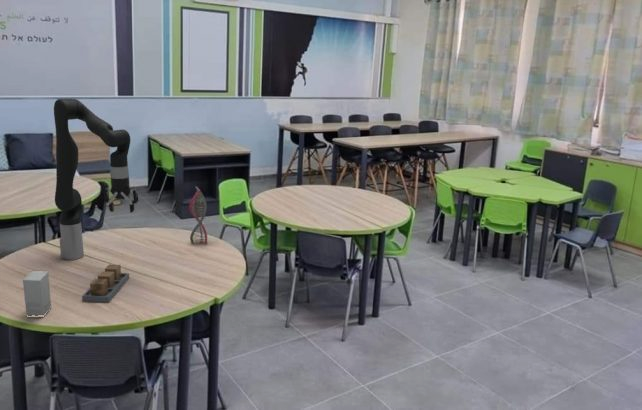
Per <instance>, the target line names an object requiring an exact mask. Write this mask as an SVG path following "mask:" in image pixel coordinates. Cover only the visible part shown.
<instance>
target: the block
mask: <svg viewBox="0 0 642 410" xmlns="http://www.w3.org/2000/svg"><path fill="white" fill-rule="evenodd" d="M89 286H90V287H89V288H90V290H91V296H106V295H107V294H108V282H107V279H98V278H94V279H93V280H92V281H91V282H90V283H89Z"/></svg>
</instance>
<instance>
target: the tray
mask: <svg viewBox="0 0 642 410" xmlns="http://www.w3.org/2000/svg"><path fill="white" fill-rule="evenodd" d="M121 268H122V267H121V264H111V263H110V264H108V265H107V266H106V267H105V268H104V271H101V272H100V273H99V274H98V275H97V279H107V282H108V294H107V295H106V296H91V290H90V287H89V288H88V289H87V290H86V291H85V292H84V293H83V294H82V296H81V299H82V300H81V301H91V302H90V303H110V302H111V301H112V299H114V298H115V296H116V295H117V294H118V293H119V291H120V290H121V289H122V287H123V286H125V284H126V283H127V282H128V280H130V274H129V273H130V272H129V273H127V272H122V269H121Z"/></svg>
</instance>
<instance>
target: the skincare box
mask: <svg viewBox="0 0 642 410" xmlns="http://www.w3.org/2000/svg"><path fill="white" fill-rule="evenodd" d="M49 278H50V277H49V271H45V270H44V271H43V270H42V271H40V270H38V271H37V270H34V271H33V270H32V271H30V272H29V273H28V274H27V275H26V277H24V278H23V279H22V284H23V293H24V295H23V296H24V303H25V313H26V314H25V315H26V316H27V315H28V316H32V315H35V316H38V315H44V314H45V313H46V312H47V311H48V310H49V309H50V307H51V308H52V301H51V290H50V289H51V288H50V279H49ZM50 310H51V309H50ZM50 310H49V311H50ZM49 311H48V312H49Z"/></svg>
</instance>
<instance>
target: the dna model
mask: <svg viewBox="0 0 642 410" xmlns="http://www.w3.org/2000/svg"><path fill="white" fill-rule="evenodd" d="M194 188H195V190H196V192H195V194H194V195H193V197H192V198H191V201H190V202H189V205H188V208H189V211H190V214H191V215H192V217H194V219H195V220H196V221H197V223H196V225H195V227H194V229H193V230H191V231H192V232H191V233H190V235H189V240H190V242H191V243H197V242H199V243H200V244H205V245H207V244H208V232H207V229H206V228H205V225H204V224H203V223H202V222H203V220H204V219H205V217H206V214H207V211H208V209H207V208H208V206H207V201H206V198H205V196H204V194H203V192H202V190H201V189H200V188H199V187H198V186H195V187H194Z"/></svg>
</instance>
